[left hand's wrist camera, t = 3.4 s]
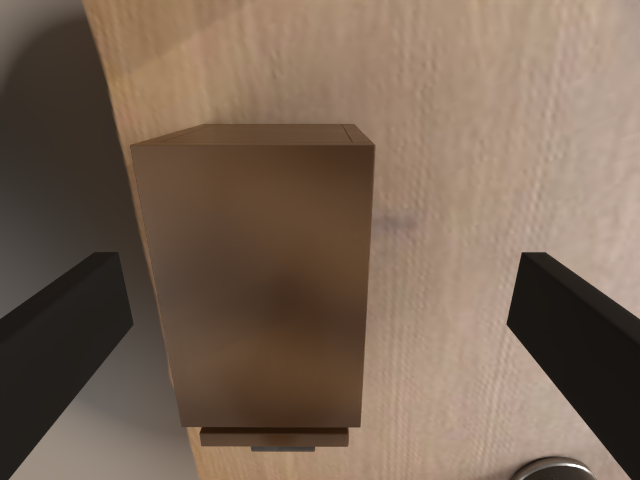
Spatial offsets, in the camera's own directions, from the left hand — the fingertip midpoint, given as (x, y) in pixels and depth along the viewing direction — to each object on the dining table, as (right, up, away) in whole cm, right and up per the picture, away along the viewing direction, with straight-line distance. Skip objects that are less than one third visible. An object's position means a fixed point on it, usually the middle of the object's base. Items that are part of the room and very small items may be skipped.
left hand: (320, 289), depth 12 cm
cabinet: (-3, +2, +19) cm, 19 cm away
